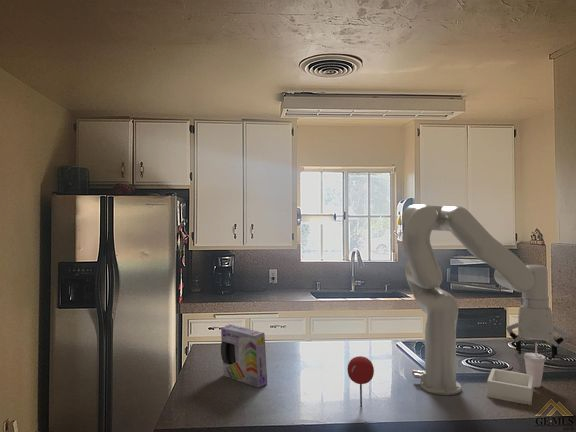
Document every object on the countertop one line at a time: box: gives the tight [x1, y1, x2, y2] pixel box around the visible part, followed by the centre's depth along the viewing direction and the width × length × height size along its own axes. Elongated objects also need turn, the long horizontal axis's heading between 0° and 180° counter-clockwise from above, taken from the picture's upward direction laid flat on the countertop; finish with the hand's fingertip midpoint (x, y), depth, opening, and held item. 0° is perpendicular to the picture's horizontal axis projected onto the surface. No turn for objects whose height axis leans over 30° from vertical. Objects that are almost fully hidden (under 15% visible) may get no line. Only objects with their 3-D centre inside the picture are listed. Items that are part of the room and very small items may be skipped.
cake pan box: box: [220, 324, 268, 388], centre depth 155 cm, size 19×5×18 cm, turn 47°
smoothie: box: [523, 342, 546, 388], centre depth 148 cm, size 6×6×14 cm
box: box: [486, 368, 534, 406], centre depth 142 cm, size 12×12×5 cm
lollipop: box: [347, 355, 375, 408], centre depth 133 cm, size 8×8×15 cm
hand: (536, 355), depth 148 cm, fingers open, 9 cm apart
